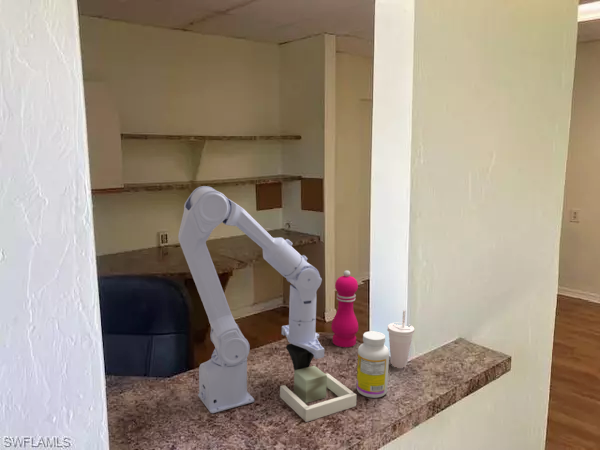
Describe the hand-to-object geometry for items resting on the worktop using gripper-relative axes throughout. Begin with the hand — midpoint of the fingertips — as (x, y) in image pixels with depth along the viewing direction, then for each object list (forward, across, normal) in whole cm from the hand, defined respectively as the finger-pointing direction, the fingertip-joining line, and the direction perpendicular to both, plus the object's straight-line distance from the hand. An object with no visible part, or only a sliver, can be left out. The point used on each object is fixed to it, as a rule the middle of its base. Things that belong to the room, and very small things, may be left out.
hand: (301, 376), depth 107 cm
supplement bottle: (+3, -9, -13) cm, 16 cm away
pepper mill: (+3, +15, -22) cm, 27 cm away
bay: (+2, -7, 0) cm, 7 cm away
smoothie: (+3, -2, -26) cm, 27 cm away
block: (+2, -4, 0) cm, 4 cm away
